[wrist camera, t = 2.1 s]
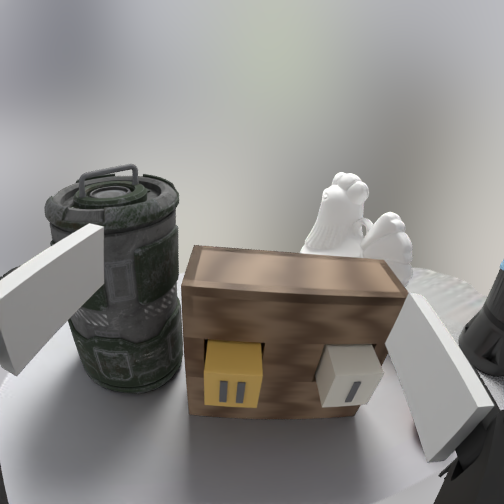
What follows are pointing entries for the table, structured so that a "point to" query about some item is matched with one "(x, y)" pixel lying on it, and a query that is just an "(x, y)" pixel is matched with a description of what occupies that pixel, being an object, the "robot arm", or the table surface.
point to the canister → (126, 277)
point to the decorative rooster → (358, 229)
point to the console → (283, 320)
